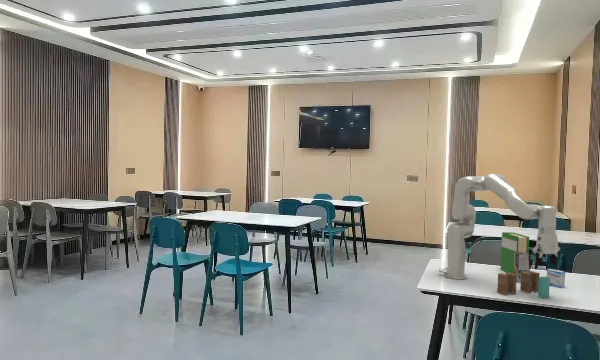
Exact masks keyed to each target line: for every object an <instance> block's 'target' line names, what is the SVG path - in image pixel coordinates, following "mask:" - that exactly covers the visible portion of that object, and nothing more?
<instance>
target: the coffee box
mask: <svg viewBox="0 0 600 360" xmlns="http://www.w3.org/2000/svg"><path fill="white" fill-rule="evenodd" d="M531 257H532V255H531V254H530V253H529V254H528V253H525V252H515V256H514V274H516V275H517V279H516V283H518V284H521V272H522V271H524V272H528V273H529V271H531V260H532V259H531Z"/></svg>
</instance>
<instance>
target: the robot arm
mask: <svg viewBox="0 0 600 360" xmlns="http://www.w3.org/2000/svg"><path fill="white" fill-rule="evenodd" d="M483 191H490V192H492V193H494V194H495V195H496V196H497V197H498V198H500V199H501V200H502V201H503V202H504V204H505V206H506V207H507V208H508V209H509V210H510V211H511V212H512V213H514V214H515V215H516V216H518V218H520V219H523V220H536V219H538V229H537V230H538V231H537V232H538V233H537V236H536V242H535V243H536V245H535V246H534V247H533V248H532V252H533V255H534V257H535V265H536V266H539V267H542V266H543V255H550V256H549V264H550V265H554V266H557V263H558V262H557V259H558V258H557V257H558V256H559V253H560V251H561V247H560V246H559V240H558V235H557V234H558V233H557V231H556V230H557V228H556V227H557V207H556V206H553V205H540V204H533V203H532V204H530V203H529V204H528V203H526V202H524V201H523V200H522V199H521V198H520V197H519V196H518V195H517V193H516V188H515V187H513V186H512V185H511V184H509V182H507V178H506V177H505V176H504V175H503V174H501V173H489V174H486V175H481V176H478V175H477V176H476V175H469V176H464V177H461V178H460V179H458V180H457V181H456V182H455V186H454V191H453V192H454V193H453V195H454V196H453V201H452V210H451V216H452V218H453V219H454V220H456V221H458V222H453V223H451V224H450V225H448V227H447V230H446V232H447V233H446V234H447V265H446V266H447V267H445V268H438V272H439V273H442V274H443V273H444V274H443V275H444V277H446V278H449V279H455V280H466V279H467V278H468V275H467V274H465V265H466V242H465V239H467V238H470V237H472V235H473V234H474V232H475V227H476V226H475V225H476V215H477V213H476V209H475V207H474V206H473V205H472V204H470V192H483Z"/></svg>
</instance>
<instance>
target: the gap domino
mask: <svg viewBox="0 0 600 360" xmlns="http://www.w3.org/2000/svg"><path fill="white" fill-rule="evenodd" d="M537 297H538V298H540V299H544V298H545V299H546V298H550V277H547V275H546V276H539V287H538V292H537Z"/></svg>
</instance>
